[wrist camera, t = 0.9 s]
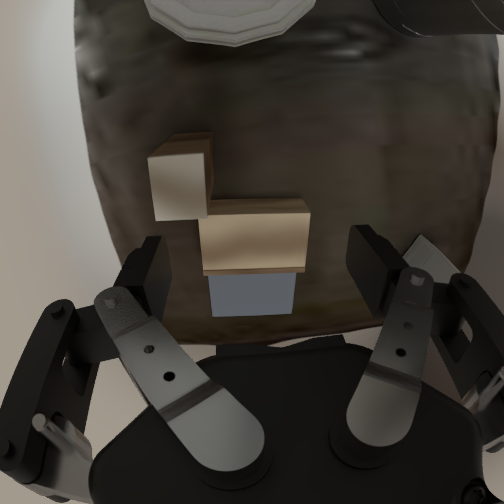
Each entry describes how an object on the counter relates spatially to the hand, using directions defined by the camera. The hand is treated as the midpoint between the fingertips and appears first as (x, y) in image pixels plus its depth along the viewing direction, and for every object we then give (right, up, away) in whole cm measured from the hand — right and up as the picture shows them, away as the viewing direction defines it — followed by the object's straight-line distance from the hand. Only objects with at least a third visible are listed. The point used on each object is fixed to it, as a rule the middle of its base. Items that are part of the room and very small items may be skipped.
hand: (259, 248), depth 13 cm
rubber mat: (0, -5, +26) cm, 26 cm away
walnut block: (-6, +10, +17) cm, 20 cm away
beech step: (0, +3, +21) cm, 22 cm away
